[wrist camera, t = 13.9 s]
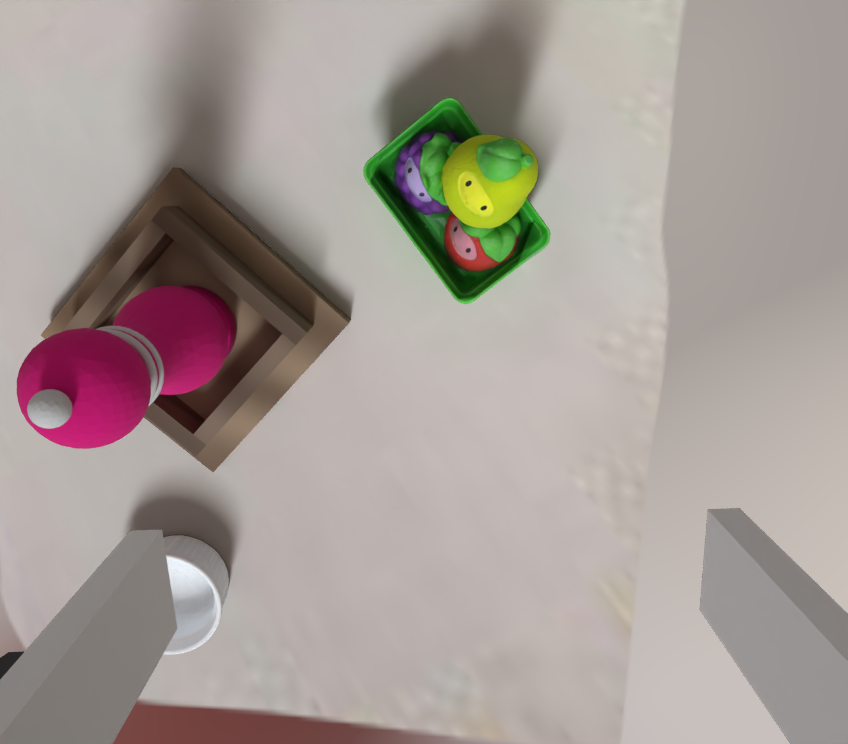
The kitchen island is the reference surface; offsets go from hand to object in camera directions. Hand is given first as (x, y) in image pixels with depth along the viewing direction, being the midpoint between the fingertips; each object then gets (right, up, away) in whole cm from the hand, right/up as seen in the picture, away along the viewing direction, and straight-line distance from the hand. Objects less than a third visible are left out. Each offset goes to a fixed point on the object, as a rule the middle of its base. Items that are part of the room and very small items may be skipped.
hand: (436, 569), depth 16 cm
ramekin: (-21, -12, +39) cm, 46 cm away
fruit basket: (+2, +17, +32) cm, 36 cm away
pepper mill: (-17, +8, +32) cm, 37 cm away
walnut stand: (-17, +8, +34) cm, 39 cm away
